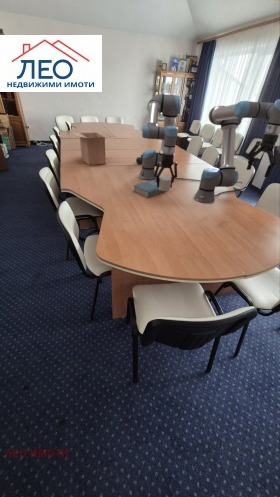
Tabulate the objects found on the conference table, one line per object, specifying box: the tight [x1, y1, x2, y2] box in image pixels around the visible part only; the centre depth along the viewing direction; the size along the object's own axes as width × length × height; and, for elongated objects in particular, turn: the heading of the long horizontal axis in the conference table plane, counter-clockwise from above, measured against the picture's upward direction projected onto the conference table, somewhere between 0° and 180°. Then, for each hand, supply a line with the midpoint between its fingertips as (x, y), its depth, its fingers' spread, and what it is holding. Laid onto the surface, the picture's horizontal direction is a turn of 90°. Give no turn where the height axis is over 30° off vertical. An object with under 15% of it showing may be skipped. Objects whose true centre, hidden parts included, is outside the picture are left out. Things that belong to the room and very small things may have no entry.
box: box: [70, 129, 114, 166], centre depth 229 cm, size 44×36×27 cm
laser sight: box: [135, 154, 143, 165], centre depth 237 cm, size 10×22×10 cm, turn 78°
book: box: [133, 179, 165, 198], centre depth 177 cm, size 23×16×5 cm
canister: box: [158, 175, 172, 192], centre depth 155 cm, size 9×9×8 cm
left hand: (164, 186), depth 157 cm, fingers closed on canister, 9 cm apart
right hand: (256, 173), depth 132 cm, fingers open, 13 cm apart
